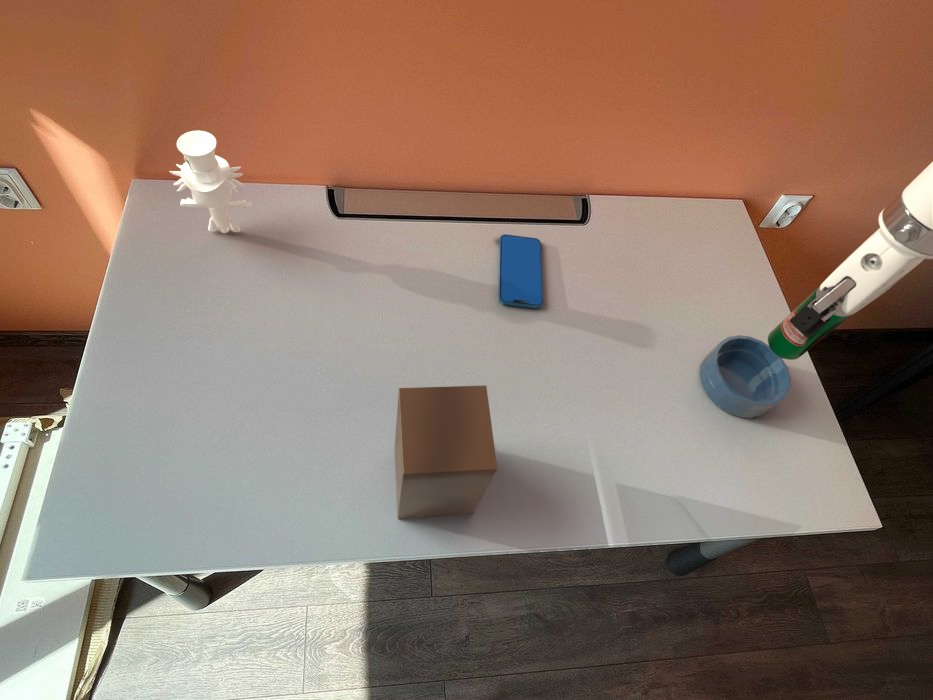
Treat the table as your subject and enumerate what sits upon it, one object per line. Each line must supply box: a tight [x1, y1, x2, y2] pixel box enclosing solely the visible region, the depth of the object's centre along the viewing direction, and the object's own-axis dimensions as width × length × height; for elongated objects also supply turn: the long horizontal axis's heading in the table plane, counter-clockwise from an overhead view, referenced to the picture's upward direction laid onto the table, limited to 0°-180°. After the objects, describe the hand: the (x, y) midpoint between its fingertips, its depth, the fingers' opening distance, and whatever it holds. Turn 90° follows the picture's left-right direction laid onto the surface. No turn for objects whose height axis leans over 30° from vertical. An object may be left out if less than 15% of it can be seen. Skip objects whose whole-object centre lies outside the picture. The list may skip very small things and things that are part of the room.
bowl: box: [699, 335, 792, 419], centre depth 91 cm, size 12×12×5 cm
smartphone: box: [498, 233, 544, 309], centre depth 98 cm, size 7×1×15 cm
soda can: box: [767, 286, 852, 361], centre depth 77 cm, size 5×5×12 cm
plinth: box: [394, 385, 498, 520], centre depth 71 cm, size 10×10×18 cm
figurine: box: [168, 129, 253, 234], centre depth 87 cm, size 10×8×18 cm
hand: (813, 319), depth 76 cm, fingers closed on soda can, 5 cm apart
